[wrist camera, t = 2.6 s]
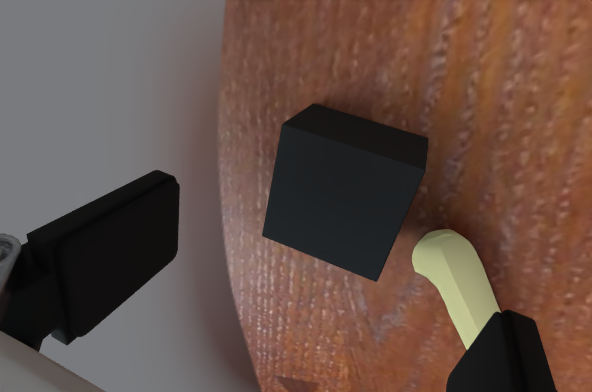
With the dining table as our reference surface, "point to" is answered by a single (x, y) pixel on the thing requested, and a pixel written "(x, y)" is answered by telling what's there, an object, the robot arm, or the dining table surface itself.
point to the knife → (457, 280)
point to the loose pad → (343, 188)
